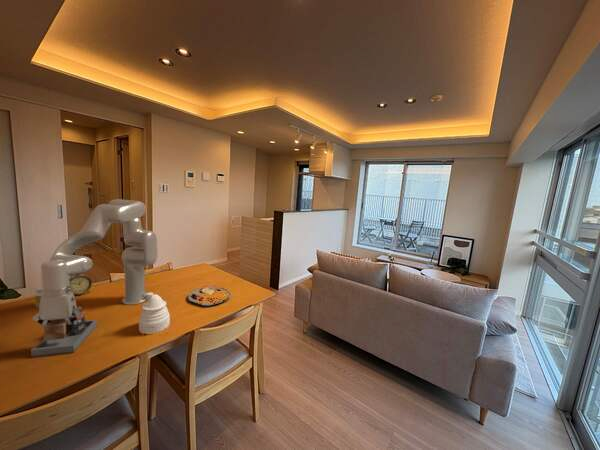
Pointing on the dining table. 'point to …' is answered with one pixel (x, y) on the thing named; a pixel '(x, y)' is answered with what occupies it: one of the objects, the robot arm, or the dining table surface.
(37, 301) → the supplement bottle
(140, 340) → the dining table surface
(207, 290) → the food plate
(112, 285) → the dining table surface
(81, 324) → the supplement bottle
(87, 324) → the tray
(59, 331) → the walnut block
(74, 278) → the alarm clock
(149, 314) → the honey pot
